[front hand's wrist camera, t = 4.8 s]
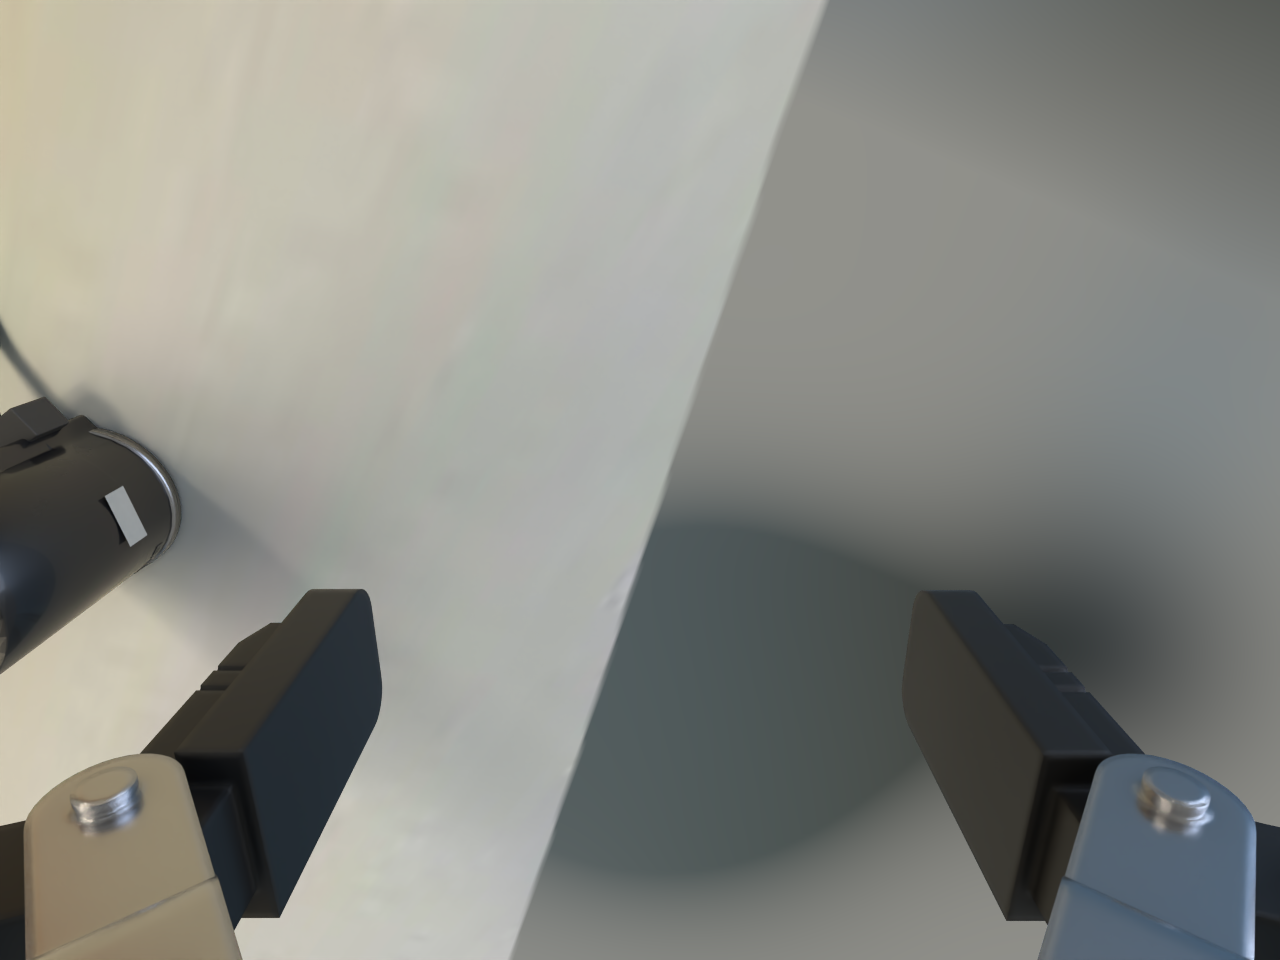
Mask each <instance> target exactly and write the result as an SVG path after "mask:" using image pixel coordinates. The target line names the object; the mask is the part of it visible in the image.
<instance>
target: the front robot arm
mask: <svg viewBox="0 0 1280 960" xmlns="http://www.w3.org/2000/svg"><path fill="white" fill-rule="evenodd" d="M180 521H181V506H180V500H179V496H178V493H177V490H176V487H175V485H174V483H173V481H172V479H171V477H170V476H169V474H168V472H167V471H166V470H165V468H164V467H163V466H162V464H161V463H160V462H159V461H158V460H157V459H156V458H155V457H154V456H153V455H152V454H151V453H150V452H149V451H147V450H146V449H145V448H144V447H142V446H141V445H139V444H138V443H136V442H134V441H133V440H131V439H129V438H127V437H125V436H123V435H121V434H118V433H115V432H112V431H109V430H105V429H101V428H97V427H96V426H94V425H93V424H92V423H91V422H90V421H89V420H88V419H87V418H86V417H85V416H83V415H80V416H77V417H75V418H72V419H69V420H67V419H66V418H65V417H64V416H63V415H62V414H61V413H60V412H59V411H58V410H57V408H56V407H55V406H54V405H53V404H52V403H51V402H50V401H49V400H48V399H47V398H46V397H42V398H39V399H37V400H34V401H31V402H28V403H25V404H22V405H19V406H16V407H13V408H10V409H9V410H8V411H7V412H5V413H4V414H3V415H2V416H1V414H0V674H1V673H3V672H4V671H5V670H7V669H8V668H9V667H11V666H12V665H13V664H15V663H16V662H17V661H19V660H20V659H21V658H23V657H24V656H25V655H27V654H28V653H29V652H31V651H32V650H33V649H35V648H36V647H37V646H39V645H40V644H41V643H43V642H44V641H45V640H47V639H48V638H49V637H51V636H52V635H53V634H55V633H56V632H57V631H59V630H60V629H61V628H63V627H64V626H65V625H67V624H68V623H69V622H71V621H72V620H73V619H75V618H76V617H77V616H78V615H80V614H81V613H82V612H84V611H85V610H86V609H88V608H89V607H90V606H92V605H93V604H94V603H96V602H97V601H98V600H100V599H101V598H102V597H104V596H105V595H106V594H108V593H109V592H110V591H112V590H113V589H114V588H116V587H117V586H118V585H120V584H121V583H122V582H124V581H125V580H126V579H127V578H129V577H130V576H131V575H133V574H135V573H136V572H138V571H139V570H141V569H142V568H143V567H145V566H146V565H148V564H150V563H151V562H153V561H154V560H155V559H157V558H158V557H159V556H161V555H162V554H163V553H164V552H165V551H166V550H167V549H168V548H169V547H170V546H171V544H172V543H173V541H174V540H175V538H176V536H177V533H178V530H179V527H180ZM381 699H382V679H381V671H380V664H379V657H378V649H377V642H376V635H375V628H374V621H373V613H372V606H371V601H370V598H369V595H368V594H367V592H366V591H365V590H363V589H311V590H309V591H308V592H307V593H306V594H305V595H304V596H303V598H302V599H301V600H300V601H299V602H298V604H297V605H296V606H295V607H294V608H293V610H292V611H291V612H290V613H289V614H288V616H287V617H286V618H285V619H284V620H283V622H282V623H270V624H268V625H267V626H265V627H263V628H262V629H260V630H259V631H257V632H255V633H254V634H252V635H250V636H249V637H247V638H246V639H244V640H242V641H241V642H239V643H238V644H237V645H236V646H235V647H234V649H233V650H232V651H231V652H230V653H229V654H228V655H227V656H226V658H225V659H224V660H223V661H222V662H221V663H220V664H219V665H218V670H217V671H213V672H212V673H211V674H210V676H209V677H208V678H207V679H206V680H205V681H204V682H203V683H202V685H201V689H200V691H195V692H194V694H193V695H192V696H191V697H190V698H189V699H188V700H187V701H186V703H185V704H184V705H183V706H182V707H181V708H180V709H179V710H178V712H177V713H176V714H175V715H174V716H173V717H172V718H171V719H170V720H169V722H168V723H167V724H166V725H165V726H164V727H163V728H162V729H161V731H160V732H159V733H158V734H157V735H156V736H155V737H154V738H153V740H152V741H151V742H150V743H149V744H148V745H147V746H146V747H145V749H144V750H143V751H142V752H141V753H140V754H135V755H128V756H123V757H119V758H114V759H111V760H108V761H105V762H102V763H99V764H97V765H94V766H91V767H89V768H87V769H85V770H83V771H81V772H79V773H77V774H75V775H73V776H71V777H70V778H68V779H66V780H64V781H63V782H62V783H60V784H59V785H57V786H56V787H54V788H53V789H52V790H51V791H49V792H48V793H47V794H46V795H45V796H44V797H42V798H41V800H40V801H39V802H38V803H37V804H36V805H35V806H34V807H33V809H32V810H31V812H30V813H29V815H28V817H27V819H26V821H21V822H17V823H12V824H8V825H3V826H0V960H242V956H241V953H240V950H239V946H238V943H237V940H236V936H235V933H234V930H235V928H236V926H237V924H238V923H239V921H240V919H241V918H280V916H281V914H282V912H283V910H284V908H285V906H286V904H287V902H288V900H289V898H290V896H291V894H292V892H293V890H294V888H295V886H296V884H297V882H298V880H299V877H300V875H301V873H302V871H303V869H304V867H305V865H306V863H307V861H308V859H309V857H310V855H311V853H312V851H313V849H314V847H315V845H316V843H317V841H318V839H319V837H320V835H321V833H322V831H323V829H324V827H325V825H326V823H327V821H328V819H329V817H330V815H331V813H332V811H333V809H334V807H335V805H336V803H337V801H338V799H339V797H340V795H341V793H342V791H343V789H344V787H345V785H346V783H347V781H348V779H349V777H350V775H351V773H352V771H353V769H354V767H355V765H356V763H357V761H358V759H359V757H360V755H361V753H362V751H363V749H364V747H365V745H366V743H367V741H368V739H369V737H370V735H371V733H372V730H373V728H374V726H375V724H376V722H377V719H378V715H379V712H380V706H381ZM902 701H903V708H904V713H905V717H906V720H907V723H908V726H909V728H910V730H911V732H912V734H913V736H914V738H915V740H916V742H917V744H918V746H919V748H920V750H921V752H922V754H923V756H924V758H925V760H926V762H927V764H928V766H929V768H930V770H931V772H932V774H933V776H934V778H935V780H936V782H937V784H938V786H939V788H940V790H941V792H942V793H943V796H944V798H945V799H946V802H947V804H948V805H949V808H950V809H951V811H952V813H953V815H954V817H955V819H956V821H957V823H958V825H959V827H960V829H961V831H962V833H963V835H964V837H965V839H966V841H967V843H968V845H969V847H970V849H971V851H972V853H973V855H974V857H975V859H976V861H977V863H978V865H979V867H980V869H981V871H982V873H983V875H984V877H985V879H986V881H987V883H988V885H989V887H990V889H991V891H992V893H993V895H994V897H995V899H996V901H997V903H998V905H999V907H1000V909H1001V911H1002V913H1003V915H1004V917H1005V919H1006V921H1046V923H1047V925H1048V926H1047V930H1046V933H1045V936H1044V940H1043V943H1042V946H1041V950H1040V953H1039V956H1038V960H1280V827H1276V826H1271V825H1267V824H1263V823H1259V822H1255V821H1254V819H1253V817H1252V815H1251V813H1250V812H1249V810H1248V809H1247V807H1246V806H1245V805H1244V804H1243V803H1242V802H1241V801H1240V800H1239V799H1238V797H1236V796H1235V795H1234V794H1233V793H1232V792H1231V791H1229V790H1228V789H1227V788H1226V787H1224V786H1223V785H1221V784H1220V783H1218V782H1217V781H1215V780H1214V779H1212V778H1210V777H1209V776H1207V775H1205V774H1203V773H1201V772H1199V771H1197V770H1195V769H1193V768H1191V767H1189V766H1186V765H1183V764H1181V763H1178V762H1175V761H1172V760H1169V759H1166V758H1161V757H1157V756H1152V755H1145V754H1144V752H1143V751H1142V750H1141V749H1140V748H1139V747H1138V746H1137V745H1136V744H1135V743H1134V741H1133V740H1132V739H1131V738H1130V737H1129V736H1128V735H1127V734H1126V733H1125V731H1124V730H1123V729H1122V728H1121V727H1120V726H1119V725H1118V724H1117V722H1116V721H1115V720H1114V719H1113V718H1112V717H1111V716H1110V715H1109V714H1108V712H1107V711H1106V710H1105V709H1104V708H1103V707H1102V706H1101V705H1100V703H1099V702H1098V701H1097V700H1096V699H1095V698H1094V697H1093V696H1092V695H1091V693H1089V692H1085V687H1084V686H1083V685H1082V683H1081V682H1080V681H1079V680H1078V679H1077V678H1076V677H1075V676H1074V675H1073V673H1072V672H1068V671H1067V667H1066V666H1065V665H1064V663H1063V662H1062V661H1061V660H1060V659H1059V658H1058V657H1057V656H1056V655H1055V653H1054V652H1053V651H1052V650H1051V649H1050V648H1049V647H1048V646H1047V644H1045V643H1043V642H1042V641H1040V640H1039V639H1037V638H1035V637H1034V636H1032V635H1030V634H1029V633H1027V632H1026V631H1024V630H1022V629H1021V628H1019V627H1017V626H1016V625H1014V624H1003V623H1002V622H1001V621H1000V620H999V618H998V617H997V616H996V615H995V614H994V612H993V611H992V610H991V609H990V608H989V606H988V605H987V604H986V603H985V602H984V600H983V599H982V598H981V597H980V596H979V595H978V594H977V593H976V592H975V591H971V590H922V591H920V592H918V594H917V595H916V597H915V600H914V603H913V608H912V615H911V622H910V630H909V637H908V644H907V651H906V658H905V665H904V672H903V680H902Z"/></svg>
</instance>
